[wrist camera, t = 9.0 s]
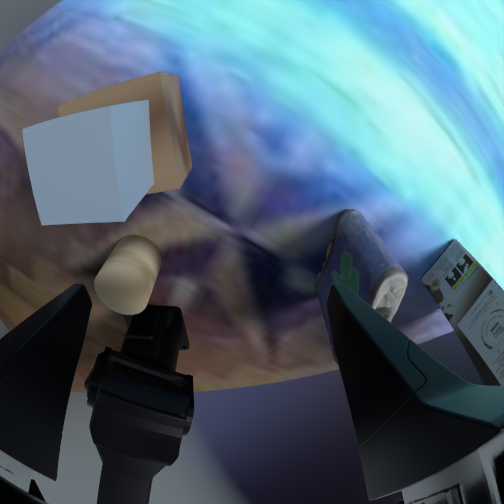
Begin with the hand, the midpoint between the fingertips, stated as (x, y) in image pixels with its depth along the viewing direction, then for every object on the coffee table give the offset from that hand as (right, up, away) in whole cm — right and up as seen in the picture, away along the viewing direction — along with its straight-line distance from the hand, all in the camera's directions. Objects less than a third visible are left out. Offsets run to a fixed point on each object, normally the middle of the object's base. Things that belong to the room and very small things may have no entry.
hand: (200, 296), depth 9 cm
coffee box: (+25, -1, +17) cm, 31 cm away
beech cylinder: (-9, +1, +15) cm, 17 cm away
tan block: (-6, +10, +9) cm, 15 cm away
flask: (+9, +1, +15) cm, 18 cm away
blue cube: (-6, +8, +5) cm, 11 cm away
